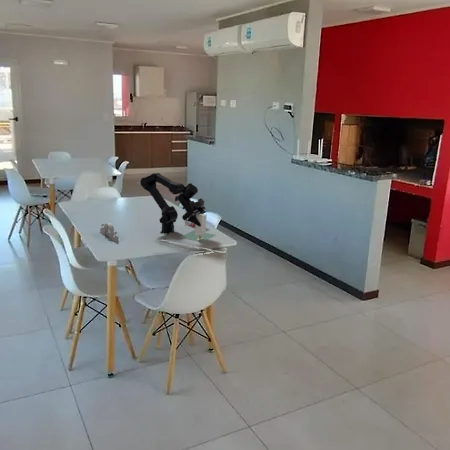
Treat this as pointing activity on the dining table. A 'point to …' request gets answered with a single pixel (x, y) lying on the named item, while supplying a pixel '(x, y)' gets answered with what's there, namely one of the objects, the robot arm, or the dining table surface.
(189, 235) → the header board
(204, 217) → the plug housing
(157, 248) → the dining table surface
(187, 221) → the ink box
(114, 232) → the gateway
